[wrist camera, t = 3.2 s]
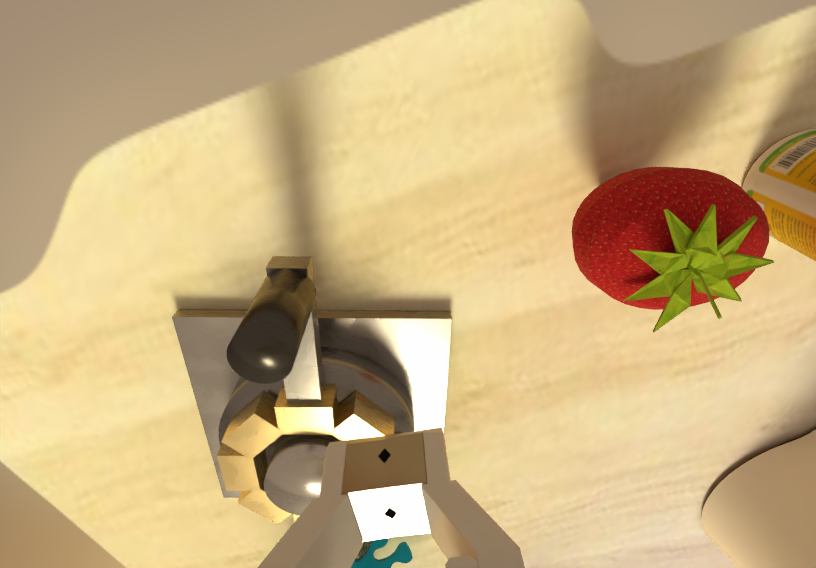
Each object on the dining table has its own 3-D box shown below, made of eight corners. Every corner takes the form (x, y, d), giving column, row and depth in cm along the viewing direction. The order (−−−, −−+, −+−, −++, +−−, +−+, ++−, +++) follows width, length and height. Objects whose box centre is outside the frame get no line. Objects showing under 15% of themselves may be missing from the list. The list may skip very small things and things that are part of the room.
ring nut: (404, 254, 21) (404, 332, 16) (401, 502, 30) (401, 607, 25) (182, 252, 21) (104, 330, 16) (245, 502, 30) (210, 607, 25)
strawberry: (664, 253, 25) (805, 372, 16) (530, 247, 25) (599, 364, 16) (705, 144, 22) (902, 217, 13) (552, 135, 22) (652, 204, 13)
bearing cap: (450, 311, 27) (462, 379, 21) (438, 488, 34) (444, 569, 29) (178, 309, 26) (122, 378, 21) (227, 487, 34) (195, 570, 29)
